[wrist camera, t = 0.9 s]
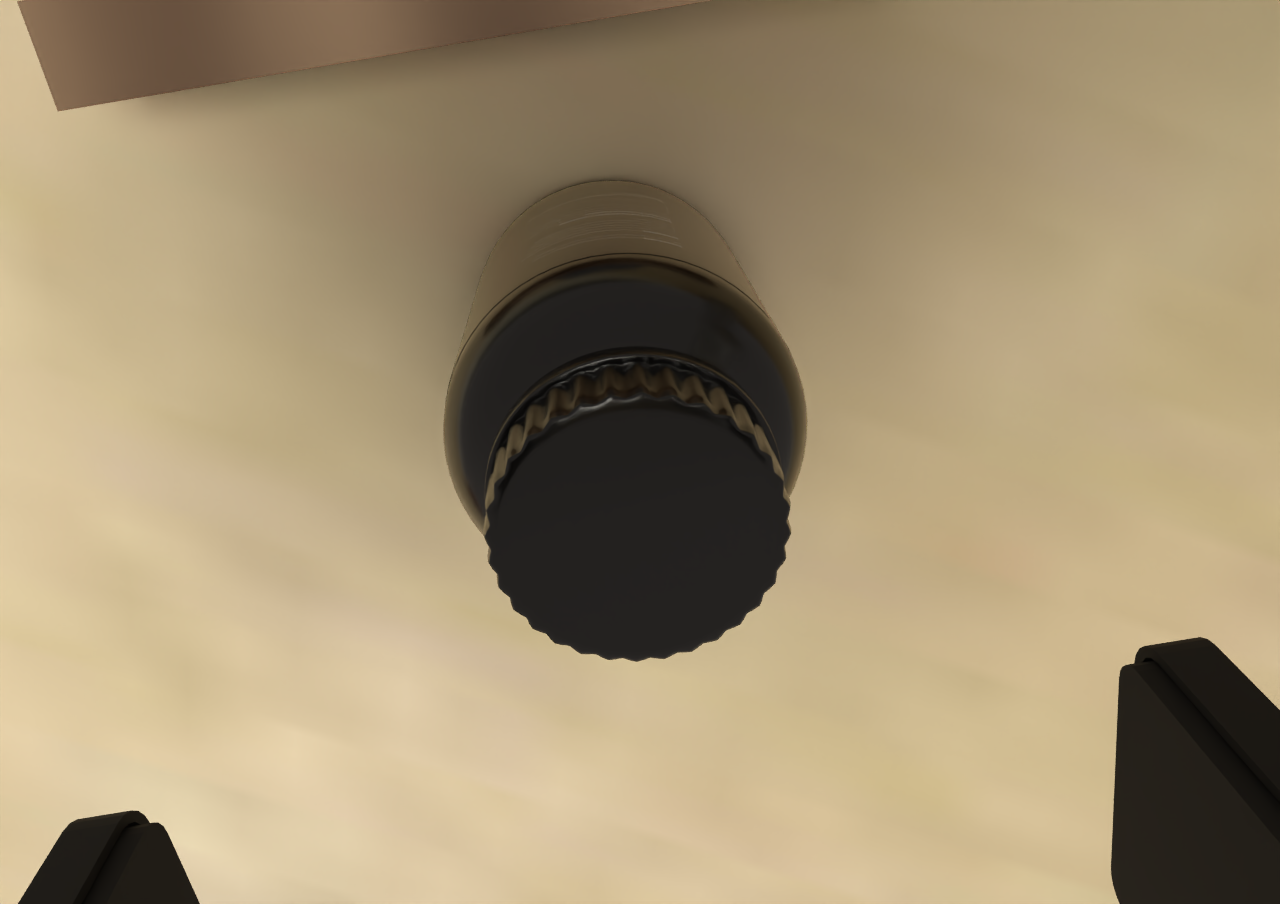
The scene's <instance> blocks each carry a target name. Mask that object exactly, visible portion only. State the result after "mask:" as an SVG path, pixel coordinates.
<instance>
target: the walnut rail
mask: <svg viewBox="0 0 1280 904" xmlns="http://www.w3.org/2000/svg"><path fill="white" fill-rule="evenodd" d="M705 1H711V0H23V1H17V2H18V5H19V8H20V10H21V13H22V16H23V18H24V21H25V24H26V26H27V29H28V32H29V35H30V37H31V40H32V43H33V45H34V48H35V51H36V53H37V56H38V59H39V62H40V64H41V67H42V70H43V72H44V75H45V78H46V80H47V83H48V86H49V89H50V91H51V94H52V97H53V99H54V102H55V105H56V107H57V110H58V111H62V110H68V109H74V108H80V107H86V106H92V105H98V104H104V103H110V102H116V101H121V100H127V99H133V98H139V97H145V96H151V95H157V94H163V93H169V92H174V91H180V90H186V89H192V88H198V87H204V86H210V85H216V84H222V83H227V82H233V81H239V80H245V79H251V78H257V77H263V76H269V75H275V74H281V73H286V72H292V71H298V70H304V69H310V68H316V67H322V66H328V65H334V64H339V63H345V62H351V61H357V60H363V59H369V58H375V57H381V56H387V55H393V54H398V53H404V52H410V51H416V50H422V49H428V48H434V47H440V46H446V45H451V44H457V43H463V42H469V41H475V40H481V39H487V38H493V37H499V36H505V35H510V34H516V33H522V32H528V31H534V30H540V29H546V28H552V27H558V26H563V25H569V24H575V23H581V22H587V21H593V20H599V19H605V18H611V17H617V16H622V15H628V14H634V13H640V12H646V11H652V10H658V9H664V8H670V7H675V6H681V5H687V4H693V3H699V2H705Z"/></svg>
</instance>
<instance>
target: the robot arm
mask: <svg viewBox="0 0 1280 904" xmlns="http://www.w3.org/2000/svg"><path fill="white" fill-rule="evenodd" d="M1111 875H1112V881H1113V886H1114V889H1115V893H1116V896H1117V898H1118V901H1119V903H1120V904H1280V710H1279V709H1278V708H1277V707H1276V706H1275V705H1274V704H1273V703H1272V702H1271V701H1270V700H1269V699H1268V698H1267V697H1266V696H1265V695H1264V694H1263V693H1262V692H1261V691H1260V690H1259V689H1258V688H1257V687H1256V686H1255V685H1254V684H1253V683H1252V682H1251V681H1250V680H1249V679H1248V678H1247V677H1246V676H1245V675H1244V674H1243V673H1242V672H1241V671H1240V670H1239V669H1238V667H1237V666H1236V665H1235V664H1234V663H1233V662H1232V661H1231V660H1230V659H1229V658H1228V657H1227V656H1226V655H1225V654H1224V653H1223V652H1222V651H1221V650H1220V649H1219V648H1218V647H1217V646H1216V645H1215V644H1213V643H1212V642H1211V641H1209V640H1208V639H1205V638H1201V637H1198V638H1192V639H1186V640H1180V641H1174V642H1167V643H1161V644H1155V645H1149V646H1144V647H1142V648H1140V649H1139V650H1138V652H1137V654H1136V657H1135V663H1134V664H1129V665H1125V666H1123V667H1122V669H1121V671H1120V677H1119V695H1118V718H1117V742H1116V765H1115V788H1114V812H1113V835H1112V858H1111ZM18 904H200V903H199V901H198V899H197V897H196V895H195V892H194V890H193V888H192V886H191V883H190V881H189V879H188V877H187V875H186V872H185V870H184V868H183V866H182V864H181V861H180V859H179V857H178V855H177V853H176V850H175V848H174V846H173V844H172V842H171V839H170V837H169V835H168V833H167V831H166V830H165V828H164V826H162V825H161V824H159V823H149V821H148V820H147V818H146V816H145V815H143V814H142V813H141V812H139V811H126V812H120V813H114V814H108V815H101V816H95V817H89V818H83V819H77V820H75V821H74V822H72V823H70V824H69V825H68V826H67V827H66V828H65V830H64V831H63V832H62V834H61V835H60V837H59V838H58V840H57V842H56V843H55V845H54V846H53V848H52V850H51V851H50V853H49V855H48V856H47V858H46V859H45V861H44V863H43V864H42V866H41V867H40V869H39V871H38V872H37V874H36V876H35V877H34V879H33V880H32V882H31V884H30V885H29V887H28V888H27V890H26V892H25V893H24V895H23V896H22V898H21V900H20V901H19V903H18Z"/></svg>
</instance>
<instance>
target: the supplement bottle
mask: <svg viewBox="0 0 1280 904" xmlns="http://www.w3.org/2000/svg"><path fill="white" fill-rule="evenodd" d="M806 435H807V412H806V402H805V396H804V391H803V387H802V383H801V380H800V376H799V373H798V370H797V367H796V365H795V362H794V360H793V358H792V355H791V353H790V351H789V348H788V347H787V345H786V343H785V342H784V340H783V338H782V336H781V334H780V333H779V331H778V329H777V327H776V326H775V324H774V322H773V321H772V319H771V317H770V316H769V314H768V312H767V311H766V309H765V307H764V305H763V304H762V302H761V300H760V299H759V297H758V295H757V294H756V292H755V290H754V289H753V287H752V285H751V284H750V282H749V280H748V279H747V277H746V275H745V274H744V272H743V270H742V268H741V267H740V265H739V263H738V262H737V260H736V258H735V257H734V255H733V253H732V252H731V250H730V248H729V247H728V245H727V244H726V243H725V241H724V240H723V238H722V237H721V235H720V234H719V233H718V231H717V230H716V229H715V228H714V227H713V225H712V224H711V223H710V222H709V221H708V220H707V219H706V218H705V217H704V216H703V215H701V214H700V213H699V212H698V211H696V210H695V209H694V208H693V207H691V206H690V205H689V204H687V203H686V202H684V201H682V200H681V199H679V198H678V197H676V196H674V195H672V194H670V193H668V192H665V191H663V190H660V189H658V188H655V187H652V186H648V185H644V184H641V183H635V182H628V181H615V180H609V181H595V182H588V183H583V184H579V185H575V186H571V187H568V188H565V189H563V190H560V191H558V192H555V193H553V194H551V195H549V196H547V197H545V198H544V199H542V200H540V201H539V202H537V203H535V204H534V205H533V206H531V207H530V208H529V209H527V210H526V211H525V212H524V213H523V214H521V215H520V216H519V217H518V218H517V219H516V220H515V221H514V222H513V223H512V224H511V225H510V227H509V228H508V229H507V230H506V231H505V232H504V234H503V235H502V237H501V238H500V239H499V241H498V242H497V244H496V246H495V247H494V249H493V251H492V253H491V254H490V256H489V259H488V261H487V263H486V265H485V268H484V271H483V273H482V276H481V279H480V282H479V285H478V288H477V291H476V295H475V298H474V301H473V305H472V308H471V311H470V315H469V318H468V321H467V325H466V328H465V331H464V335H463V338H462V341H461V345H460V348H459V351H458V355H457V358H456V361H455V365H454V368H453V372H452V375H451V378H450V382H449V387H448V392H447V397H446V403H445V414H444V447H445V456H446V460H447V465H448V469H449V473H450V476H451V479H452V482H453V485H454V488H455V490H456V493H457V495H458V497H459V499H460V501H461V503H462V505H463V507H464V509H465V510H466V512H467V514H468V515H469V517H470V519H471V520H472V521H473V523H474V524H475V525H476V527H477V528H478V529H479V531H480V532H481V533H482V534H483V536H484V537H485V540H486V542H487V544H488V546H489V549H488V562H489V564H490V566H491V567H492V569H493V570H494V571H495V572H496V573H497V583H498V587H499V588H500V589H501V590H502V591H503V592H504V593H505V594H506V595H507V596H509V597H510V600H511V604H512V607H513V610H515V611H516V612H518V613H519V614H521V615H523V616H525V617H526V618H527V619H528V622H529V624H530V625H531V627H532V628H533V629H535V630H537V631H540V632H543V633H546V634H547V635H548V636H549V637H550V639H551V640H552V641H553V642H554V643H556V644H560V645H568V646H571V647H572V648H573V649H575V650H576V651H577V652H579V653H581V654H597V655H599V656H601V657H602V658H605V659H607V660H613V659H618V658H625V659H628V660H631V661H636V662H637V661H641V660H644V659H647V658H650V657H651V658H659V659H665V658H668V657H670V656H672V655H673V654H675V653H677V652H692V651H693V650H695V649H696V648H698V647H699V646H700V645H702V644H703V643H707V642H712V641H715V640H718V639H719V638H720V637H721V636H722V635H723V633H724V632H725V631H726V630H728V629H731V628H733V627H736V626H738V625H740V624H741V623H742V621H743V620H744V618H745V616H746V614H747V613H748V612H750V611H752V610H754V609H755V608H757V607H758V606H760V604H761V601H762V598H763V595H764V593H765V592H766V591H767V590H769V589H770V588H771V587H772V586H773V585H774V584H775V582H776V575H777V570H778V569H779V567H780V566H781V565H782V564H783V562H784V561H785V559H786V552H785V544H786V542H787V541H788V539H789V536H790V534H791V527H790V524H789V521H788V515H789V511H790V499H789V497H790V495H791V493H792V491H793V489H794V486H795V484H796V481H797V478H798V475H799V473H800V469H801V465H802V461H803V458H804V452H805V445H806Z"/></svg>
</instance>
